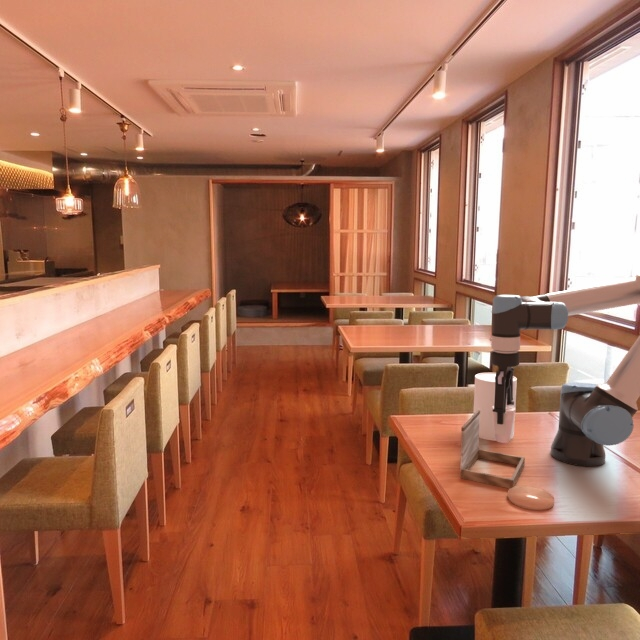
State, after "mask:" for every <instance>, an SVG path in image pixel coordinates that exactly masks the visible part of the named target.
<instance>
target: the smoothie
mask: <svg viewBox="0 0 640 640" xmlns="http://www.w3.org/2000/svg"><path fill="white" fill-rule="evenodd" d="M493 409H494V406H492V411H493ZM514 413H515V414H516V407H515V408H514V407H513V406H509V405H507V399H506V435H505V436H504V435H498V434H495V436H496V441H495V442H498V443H501V444H508V443H510V441H511V439H510V436H511V430H512V424H513V418H514ZM493 417H494V427H495V420H496V412H493Z"/></svg>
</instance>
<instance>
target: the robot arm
mask: <svg viewBox="0 0 640 640" xmlns="http://www.w3.org/2000/svg"><path fill="white" fill-rule="evenodd" d="M631 305H638V306H640V273H635V274H633V275H632V276H631V278H626V279H622V280H621V279H620V280H616V281H610V282H605V283H600V284H594V285H588V286H583V287H578V288H573V289H568V290H562V291H556V292H550V293H546V294H540V295H534V296H530V295H529V296H528V295H525V296H521V295H517V294H497V295H495V296H494V297H493V300H492V307H491V337H490V338H489V339H488V340H489V342H491V344H490V345H491V349H492V350H491V352H490V364H491V365H492V366H496V367H498V369H497V371H495V373H496V376H495V402H494V409H493V412H496V420H495V434H498V435H504V436H505V435H506V399H507V405H509V406H511V405H514V402H513V401H512V400H513V376H514V371H515V369H514V367H518V366H519V365H520V357H521V356H520V352H519V351H520V350H521V331H522V330H551V331H554V330H563V329H564V328H565V327H566V326H567V324H568V321H569V316H575V315H580V314H581V315H582V314H586V313H591V312H597V311H602V310H609V309H615V308H620V307H625V306H626V307H627V306H631ZM559 396H560V398H559V412H558V413H559V414H558V415H559V416H558V430H557V433H556V434H555V436H554V438H553V441H552V442H551V443H552V444H551V445H550V455H551V456H552V457H553V458H555V459H556V460H559V461H560V462H563V463H566V464H570V465H575V466H579V467H599V466H601V465H604V464H605V462H606V455H607V454H606V450H605V447H604V446H610V447H611V446H614V445H615V446H616V445H619V444H622V443H623V442H625V441H626V440H628V439H629V438H630V437H631V435H632V432H633V431H634V427H635V426H634V419H633V417H634V415H636V413H637V412H638V410H639V409H638V404H637V401H638V399H639V398H640V335H638V337H637V339H636V340H635V341H634V343H633V344H632V346H631V347H630V348H629V350H628V351H627V353H626V354H625V356H624V357H623V358H622V360H621V361H620V363H619V364H618V366H617V367H616V368H615V370H614V371H613V372H612V374H611V375H610V377H609V378H608V379H607V380H606V382H605V383H600V384H596V383H591V382H590V383H589V382H566V383H564V384H562V385H561V388H560V393H559Z"/></svg>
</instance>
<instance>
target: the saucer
mask: <svg viewBox="0 0 640 640" xmlns="http://www.w3.org/2000/svg"><path fill="white" fill-rule="evenodd" d="M507 499H508V501H509V502H511V504H513V505H515V506H517V507H519V508H522V509H525V510H530V511H547V510H550V509H551V508H553V507H554V505H555V498H554V496H553V495H552V494H551V493H550V492H548V491H546V490H544V489H542V488H540V487H535V486H530V485H515V486H514V487H512V488H510V489H509V488H508V491H507Z"/></svg>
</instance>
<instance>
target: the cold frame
mask: <svg viewBox="0 0 640 640" xmlns="http://www.w3.org/2000/svg"><path fill="white" fill-rule="evenodd" d="M479 419H480V410H477V411H476V412H475V414H474V415H473V414H472V415H471V416H470V418H469V419H468V420H467V421H466V422H465V423H464V424H463V425H462V426H461V444H460V465H459V467H460V468H459V470H460V479H464V480H467V481H468V480H469V481H474V482H478V483H482V484H486V485H492V486H496V487H501V488H505V489H508V490H509V489H510V488H512V487H515V486H516V484H517V482H518V480H519V478H520V476H521V474H522V472H523V469H524V467H525V465H526V463H525V462H526V461H525V460H526V457H525V456H519V455H513V454H509V453H508V454H507V453H503V452H497V451H492V450H485V449H483V448H479V439H480V437H479ZM478 459H484V460H489V461H493V462H499V463H505V464H509V465H514V466H515V465H516V467H515V470H514V472H513V473H512V476H511V477H505V476H500V475H496V474H495V475H494V474H489V473H487V472H480V471H475V470H471V469H472V468H473V466H474V464H475V463H476V462H477V460H478Z"/></svg>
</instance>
